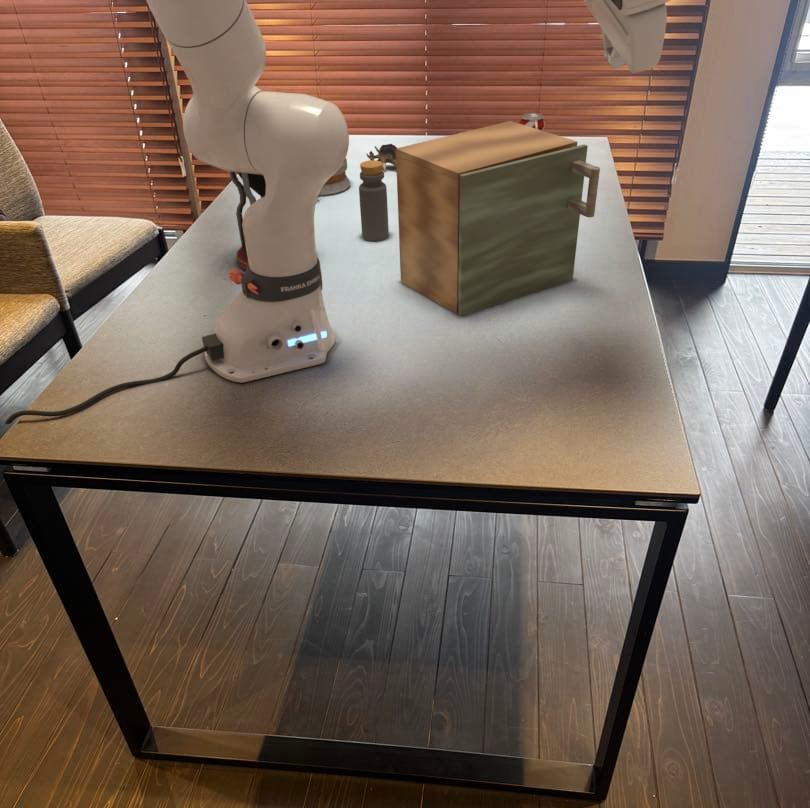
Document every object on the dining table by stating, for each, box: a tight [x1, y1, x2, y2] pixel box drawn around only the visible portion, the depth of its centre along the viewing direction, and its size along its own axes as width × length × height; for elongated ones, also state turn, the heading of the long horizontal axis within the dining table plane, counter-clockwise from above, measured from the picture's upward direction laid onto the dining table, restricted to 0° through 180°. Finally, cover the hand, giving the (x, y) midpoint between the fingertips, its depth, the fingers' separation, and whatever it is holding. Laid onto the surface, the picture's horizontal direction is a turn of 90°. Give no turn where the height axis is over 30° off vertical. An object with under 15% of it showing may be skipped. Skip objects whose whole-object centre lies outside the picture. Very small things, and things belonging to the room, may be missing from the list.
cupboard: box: [395, 120, 578, 315], centre depth 147 cm, size 18×26×24 cm
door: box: [457, 144, 601, 317], centre depth 138 cm, size 7×26×24 cm, turn 122°
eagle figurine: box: [365, 143, 398, 173], centre depth 206 cm, size 8×7×9 cm
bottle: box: [358, 159, 390, 242], centre depth 168 cm, size 6×6×15 cm
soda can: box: [518, 112, 547, 132], centre depth 201 cm, size 7×7×12 cm
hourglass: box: [228, 171, 266, 271], centre depth 157 cm, size 16×16×25 cm
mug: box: [318, 157, 351, 197], centre depth 192 cm, size 14×19×15 cm
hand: (613, 62), depth 113 cm, fingers closed
